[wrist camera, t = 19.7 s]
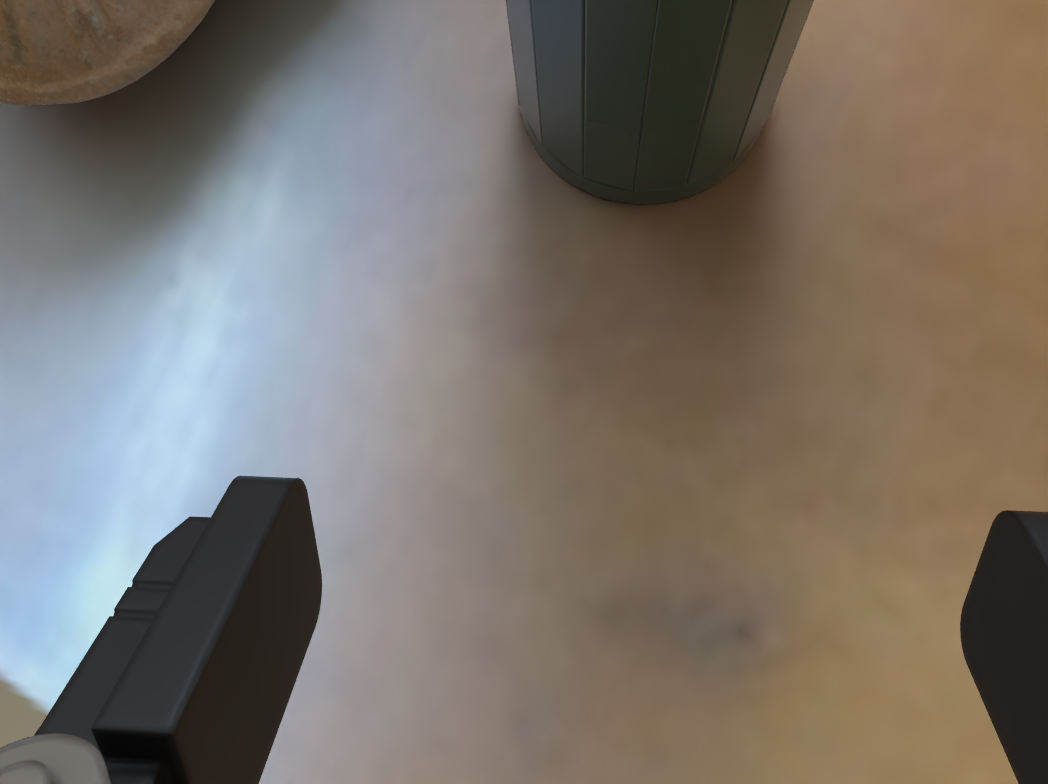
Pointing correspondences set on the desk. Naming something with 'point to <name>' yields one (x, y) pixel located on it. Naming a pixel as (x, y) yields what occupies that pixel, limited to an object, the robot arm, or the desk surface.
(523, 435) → the desk surface
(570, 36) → the pot
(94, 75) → the pottery oil lamp
